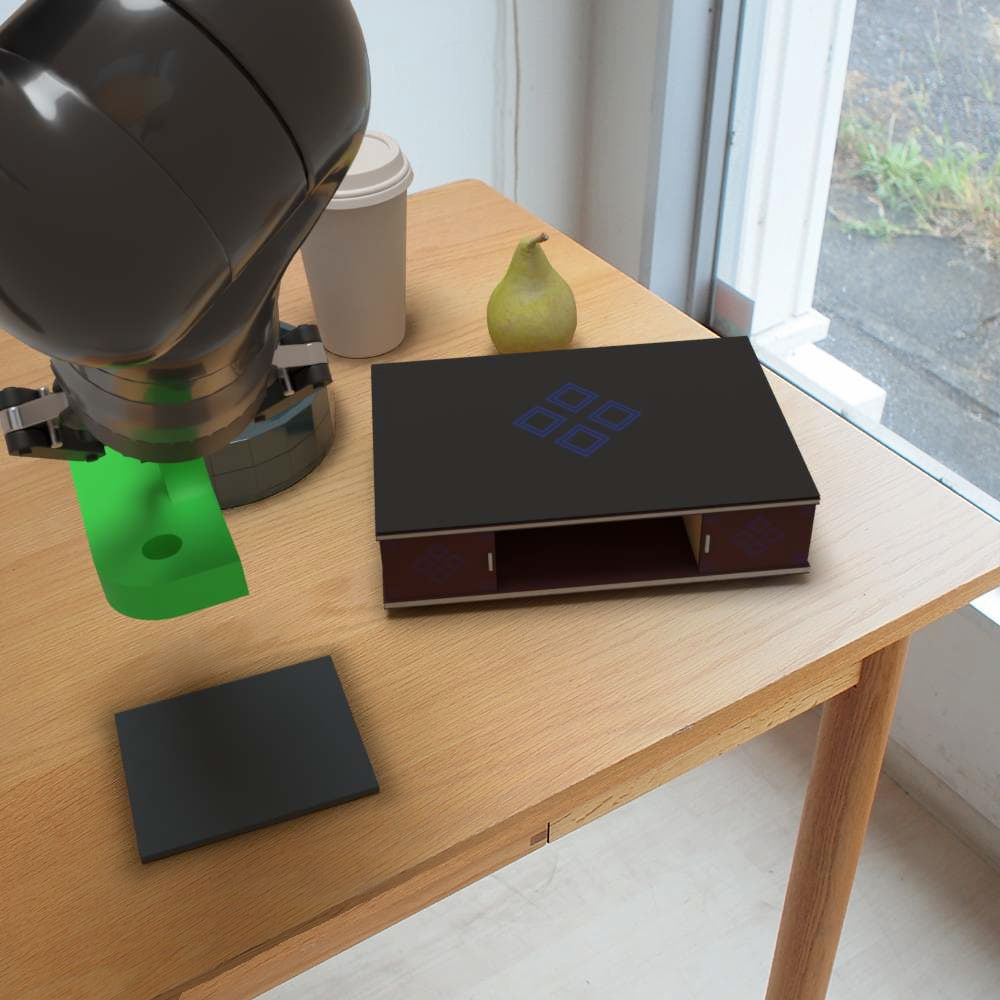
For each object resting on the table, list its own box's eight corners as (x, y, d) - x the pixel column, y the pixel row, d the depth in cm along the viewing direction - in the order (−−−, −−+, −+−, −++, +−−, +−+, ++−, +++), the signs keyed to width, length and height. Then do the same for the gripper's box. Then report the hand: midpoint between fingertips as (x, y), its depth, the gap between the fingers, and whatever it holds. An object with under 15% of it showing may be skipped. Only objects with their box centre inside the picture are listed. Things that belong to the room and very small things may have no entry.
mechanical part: (78, 488, 66) (31, 351, 62) (195, 455, 68) (159, 319, 63) (115, 636, 57) (64, 490, 53) (249, 594, 59) (212, 448, 54)
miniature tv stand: (808, 584, 78) (821, 496, 74) (385, 620, 77) (375, 533, 73) (739, 417, 92) (747, 334, 88) (379, 445, 90) (370, 363, 86)
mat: (142, 864, 64) (140, 858, 64) (115, 719, 71) (113, 713, 71) (380, 792, 67) (379, 785, 67) (331, 660, 74) (330, 654, 74)
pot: (112, 536, 84) (95, 474, 80) (84, 401, 96) (67, 342, 93) (362, 476, 88) (355, 414, 85) (304, 353, 100) (296, 295, 97)
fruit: (561, 325, 102) (561, 180, 94) (593, 376, 96) (595, 226, 89) (477, 339, 101) (470, 194, 93) (504, 392, 95) (499, 241, 87)
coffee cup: (368, 291, 107) (350, 112, 98) (450, 332, 102) (439, 147, 92) (275, 338, 102) (246, 154, 92) (357, 384, 96) (335, 194, 87)
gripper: (332, 192, 47) (296, 327, 64) (-75, 269, 44) (-1, 390, 60) (388, 393, 46) (336, 476, 63) (-21, 487, 43) (39, 548, 60)
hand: (171, 433), depth 62 cm, fingers closed on mechanical part
